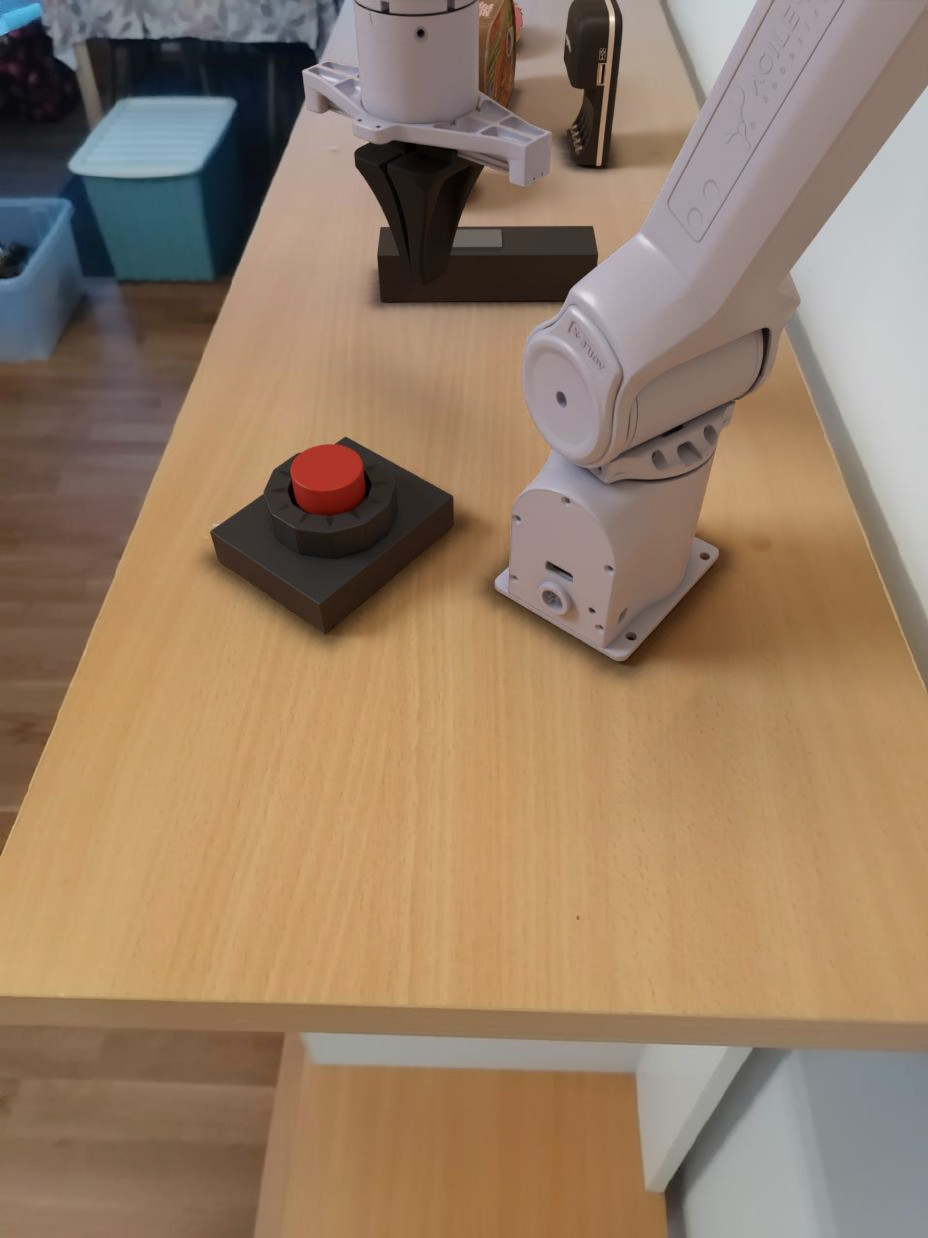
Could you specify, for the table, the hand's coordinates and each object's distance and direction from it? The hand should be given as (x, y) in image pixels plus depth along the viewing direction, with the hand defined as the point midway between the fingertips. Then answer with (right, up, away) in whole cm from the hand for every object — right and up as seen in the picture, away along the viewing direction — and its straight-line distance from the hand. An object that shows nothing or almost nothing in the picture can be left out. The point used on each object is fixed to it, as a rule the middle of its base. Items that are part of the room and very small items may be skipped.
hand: (427, 274), depth 53 cm
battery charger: (+12, +21, +30) cm, 38 cm away
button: (-5, -13, -5) cm, 14 cm away
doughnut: (+3, +41, +47) cm, 62 cm away
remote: (+4, +5, +15) cm, 16 cm away
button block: (-5, -15, -2) cm, 16 cm away
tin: (+4, +28, +36) cm, 46 cm away
